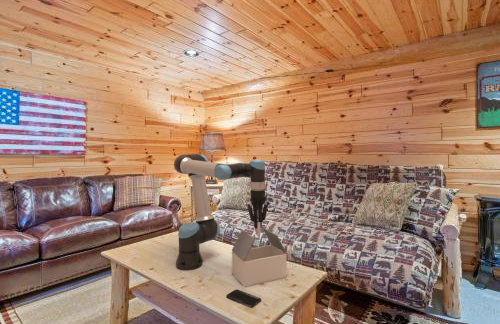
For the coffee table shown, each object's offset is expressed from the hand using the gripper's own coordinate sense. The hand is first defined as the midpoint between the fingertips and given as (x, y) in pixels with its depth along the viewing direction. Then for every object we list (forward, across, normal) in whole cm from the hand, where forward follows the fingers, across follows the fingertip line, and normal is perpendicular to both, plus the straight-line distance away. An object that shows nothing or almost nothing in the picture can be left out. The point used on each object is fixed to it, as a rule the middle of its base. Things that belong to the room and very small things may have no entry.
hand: (257, 234), depth 149 cm
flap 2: (+5, +9, 0) cm, 10 cm away
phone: (+23, -16, -18) cm, 33 cm away
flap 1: (+5, -8, 0) cm, 10 cm away
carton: (+22, 0, 0) cm, 22 cm away
